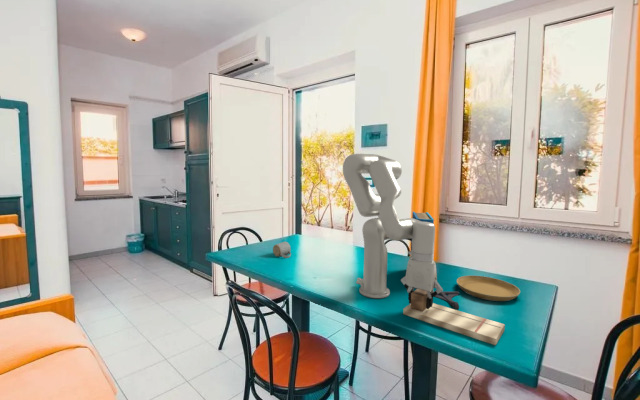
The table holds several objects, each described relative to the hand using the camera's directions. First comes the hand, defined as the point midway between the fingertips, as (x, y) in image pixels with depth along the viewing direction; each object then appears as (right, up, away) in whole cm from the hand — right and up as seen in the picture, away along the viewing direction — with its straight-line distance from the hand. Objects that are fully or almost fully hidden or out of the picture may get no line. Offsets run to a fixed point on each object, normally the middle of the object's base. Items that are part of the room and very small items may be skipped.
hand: (420, 304), depth 117 cm
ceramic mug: (-58, +5, +71) cm, 91 cm away
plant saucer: (+35, -2, +21) cm, 41 cm away
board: (+9, -4, -6) cm, 11 cm away
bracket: (+15, -3, +11) cm, 19 cm away
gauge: (+1, -1, +1) cm, 2 cm away
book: (+12, 0, +37) cm, 39 cm away
